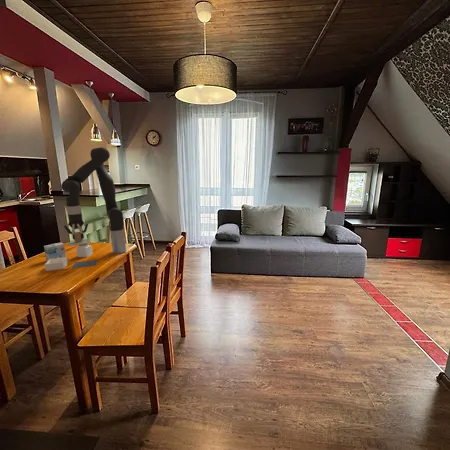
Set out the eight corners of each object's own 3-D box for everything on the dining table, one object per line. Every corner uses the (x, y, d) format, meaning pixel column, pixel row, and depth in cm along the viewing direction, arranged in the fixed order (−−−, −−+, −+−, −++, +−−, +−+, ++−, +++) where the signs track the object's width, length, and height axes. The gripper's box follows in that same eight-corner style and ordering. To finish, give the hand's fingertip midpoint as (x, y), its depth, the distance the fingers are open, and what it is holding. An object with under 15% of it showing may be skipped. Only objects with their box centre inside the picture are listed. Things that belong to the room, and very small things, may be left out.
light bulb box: (49, 262, 171) (46, 247, 168) (46, 260, 175) (43, 245, 172) (66, 258, 179) (64, 243, 177) (62, 256, 183) (60, 242, 181)
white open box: (67, 264, 167) (66, 257, 166) (64, 269, 158) (62, 262, 157) (50, 266, 164) (49, 259, 163) (46, 271, 155) (44, 264, 154)
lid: (90, 239, 169) (88, 229, 168) (87, 244, 159) (85, 233, 158) (71, 241, 166) (69, 231, 164) (67, 246, 155) (65, 235, 154)
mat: (98, 259, 174) (98, 259, 174) (95, 266, 163) (95, 265, 163) (75, 262, 169) (75, 262, 169) (71, 269, 158) (71, 268, 158)
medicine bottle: (92, 254, 186) (90, 238, 183) (86, 257, 179) (84, 241, 176) (83, 254, 187) (81, 238, 184) (77, 257, 180) (74, 241, 177)
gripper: (88, 211, 164) (91, 236, 168) (63, 212, 159) (67, 239, 163) (86, 213, 157) (90, 239, 161) (60, 214, 152) (64, 242, 156)
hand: (78, 239), depth 162 cm, fingers closed on lid, 3 cm apart
